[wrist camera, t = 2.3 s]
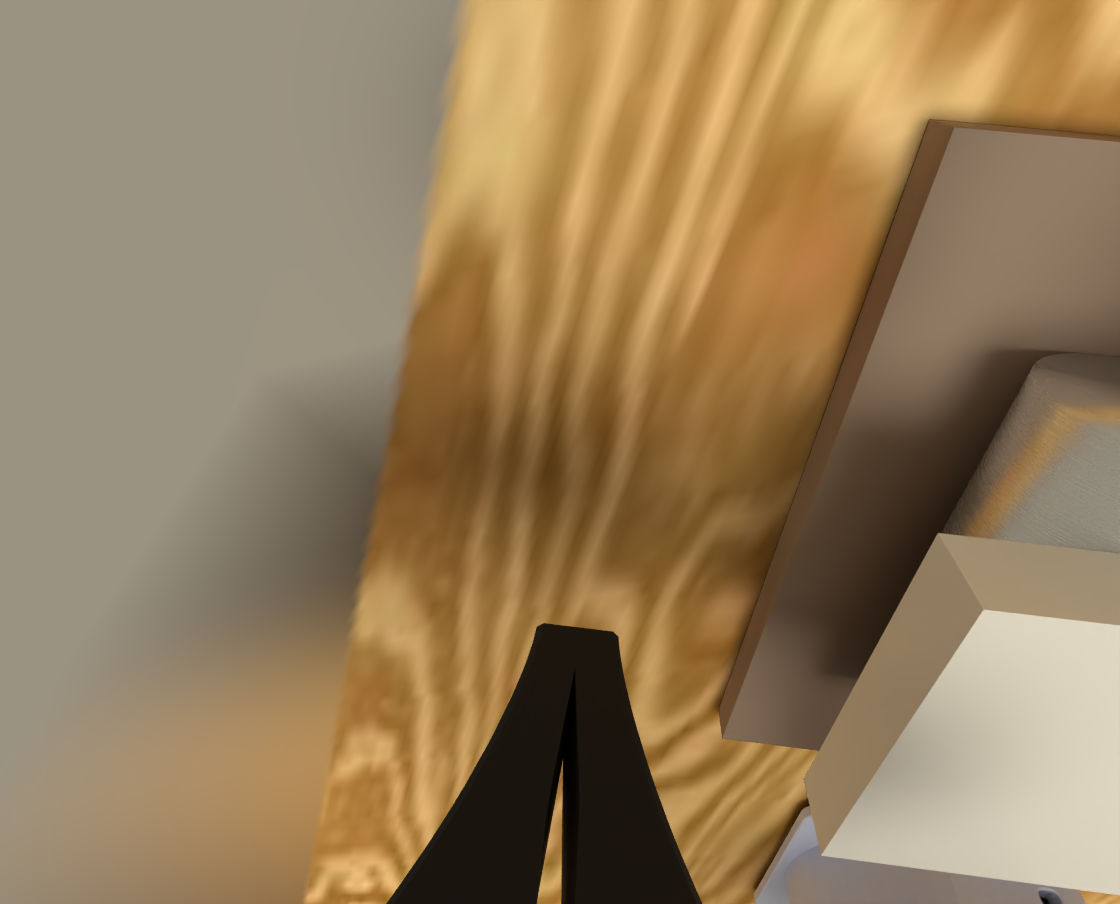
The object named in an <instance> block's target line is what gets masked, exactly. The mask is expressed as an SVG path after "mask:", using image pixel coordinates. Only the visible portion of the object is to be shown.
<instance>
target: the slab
mask: <svg viewBox="0 0 1120 904" xmlns="http://www.w3.org/2000/svg"><path fill="white" fill-rule="evenodd" d="M804 783H805V787H806V792H807V796H808V800H809V805H810V809H811V814H812V818H813V823H814V827H815V831H816V836H817V840H818V845H819V849H820V853H821V856H828V857H835V858H843V859H850V860H858V861H865V862H873V863H880V864H888V865H896V866H903V867H911V868H918V869H926V870H933V871H941V872H948V873H956V874H963V875H971V876H978V877H986V878H993V879H1001V880H1008V881H1016V882H1024V883H1031V884H1039V885H1046V886H1054V887H1061V888H1069V889H1076V890H1084V891H1091V892H1099V893H1106V894H1114V895H1120V554H1119V553H1110V552H1102V551H1093V550H1084V549H1075V548H1066V547H1057V546H1048V545H1040V544H1031V543H1022V542H1013V541H1004V540H995V539H987V538H978V537H969V536H960V535H951V534H942V533H938V534H937V536H936V538H935V539H934V541H933V543H932V545H931V547H930V549H929V550H928V552H927V554H926V556H925V558H924V559H923V561H922V563H921V565H920V567H919V569H918V570H917V572H916V574H915V576H914V578H913V580H912V581H911V583H910V585H909V587H908V589H907V591H906V592H905V594H904V596H903V598H902V600H901V602H900V603H899V605H898V607H897V609H896V611H895V613H894V614H893V616H892V618H891V620H890V622H889V624H888V625H887V627H886V629H885V631H884V633H883V635H882V636H881V638H880V640H879V642H878V644H877V646H876V647H875V649H874V651H873V653H872V655H871V657H870V658H869V660H868V662H867V664H866V666H865V668H864V669H863V671H862V673H861V675H860V677H859V679H858V680H857V682H856V684H855V686H854V688H853V690H852V691H851V693H850V695H849V697H848V699H847V701H846V702H845V704H844V706H843V708H842V710H841V712H840V713H839V715H838V717H837V719H836V721H835V723H834V724H833V726H832V728H831V730H830V732H829V734H828V735H827V737H826V739H825V741H824V743H823V745H822V746H821V748H820V750H819V752H818V754H817V756H816V757H815V759H814V761H813V763H812V765H811V767H810V768H809V770H808V772H807V774H806V776H805V778H804Z"/></svg>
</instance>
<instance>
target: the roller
mask: <svg viewBox="0 0 1120 904" xmlns="http://www.w3.org/2000/svg"><path fill="white" fill-rule="evenodd" d="M941 533H942V534H951V535H960V536H969V537H978V538H987V539H995V540H1004V541H1013V542H1022V543H1031V544H1040V545H1048V546H1057V547H1066V548H1075V549H1084V550H1093V551H1102V552H1110V553H1119V554H1120V357H1116V356H1110V355H1100V354H1089V353H1063V354H1055V355H1050V356H1047V357H1044V358H1041V359H1040V360H1038V361H1036V363H1035V364H1034V365H1033V367H1032V369H1031V370H1030V372H1029V374H1028V376H1027V378H1026V380H1025V381H1024V383H1023V385H1022V387H1021V389H1020V390H1019V392H1018V394H1017V396H1016V398H1015V400H1014V401H1013V403H1012V405H1011V407H1010V409H1009V410H1008V412H1007V414H1006V416H1005V418H1004V420H1003V421H1002V423H1001V425H1000V427H999V429H998V431H997V432H996V434H995V436H994V438H993V440H992V441H991V443H990V445H989V447H988V449H987V451H986V452H985V454H984V456H983V458H982V460H981V461H980V463H979V465H978V467H977V469H976V471H975V472H974V474H973V476H972V478H971V480H970V481H969V483H968V485H967V487H966V489H965V491H964V492H963V494H962V496H961V498H960V500H959V501H958V503H957V505H956V507H955V509H954V511H953V512H952V514H951V516H950V518H949V520H948V522H947V523H946V525H945V527H944V529H943V531H942V532H941Z"/></svg>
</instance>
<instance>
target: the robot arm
mask: <svg viewBox="0 0 1120 904" xmlns="http://www.w3.org/2000/svg"><path fill="white" fill-rule="evenodd" d="M562 761H563V809H562V898H561V904H702V902H701V900H700V898H699V895H698V893H697V891H696V889H695V886H694V884H693V882H692V879H691V877H690V875H689V872H688V870H687V868H686V865H685V863H684V861H683V858H682V856H681V853H680V851H679V848H678V846H677V843H676V841H675V838H674V836H673V833H672V831H671V828H670V826H669V823H668V820H667V818H666V815H665V812H664V809H663V807H662V804H661V801H660V798H659V796H658V793H657V790H656V787H655V785H654V782H653V779H652V776H651V773H650V770H649V767H648V764H647V760H646V757H645V754H644V750H643V747H642V744H641V741H640V737H639V734H638V731H637V727H636V724H635V720H634V717H633V713H632V709H631V705H630V701H629V697H628V692H627V688H626V684H625V679H624V674H623V669H622V663H621V657H620V650H619V639H618V636H617V635H616V634H615V633H614V632H611V631H603V630H595V629H586V628H578V627H570V626H562V625H553V624H545V623H543V624H541V625H540V626H538V627H537V628H536V633H535V637H534V641H533V644H532V647H531V650H530V653H529V656H528V659H527V661H526V664H525V667H524V669H523V672H522V674H521V676H520V679H519V681H518V683H517V686H516V688H515V691H514V693H513V695H512V697H511V699H510V701H509V703H508V705H507V707H506V709H505V712H504V714H503V716H502V718H501V720H500V722H499V724H498V726H497V728H496V730H495V732H494V734H493V736H492V738H491V740H490V742H489V743H488V745H487V747H486V749H485V751H484V752H483V754H482V756H481V758H480V760H479V761H478V763H477V765H476V767H475V768H474V770H473V772H472V774H471V776H470V777H469V779H468V781H467V783H466V784H465V786H464V788H463V790H462V791H461V793H460V794H459V796H458V798H457V799H456V801H455V803H454V804H453V806H452V808H451V809H450V811H449V812H448V814H447V816H446V817H445V819H444V820H443V822H442V823H441V825H440V827H439V828H438V830H437V831H436V833H435V834H434V836H433V837H432V839H431V840H430V842H429V843H428V845H427V846H426V848H425V849H424V851H423V852H422V854H421V855H420V857H419V858H418V860H417V861H416V863H415V864H414V865H413V867H412V868H411V870H410V871H409V873H408V874H407V875H406V877H405V878H404V880H403V881H402V883H401V884H400V885H399V887H398V888H397V890H396V891H395V893H394V894H393V895H392V897H391V898H390V900H389V901H388V902H387V904H537V898H538V892H539V886H540V881H541V876H542V870H543V865H544V859H545V854H546V848H547V843H548V837H549V832H550V826H551V821H552V816H553V810H554V805H555V799H556V794H557V788H558V783H559V777H560V772H561V766H562ZM754 901H755V904H1086V902H1085V900H1084V898H1083V896H1082V894H1081V892H1080V890H1076V889H1069V888H1061V887H1054V886H1046V885H1039V884H1031V883H1024V882H1016V881H1008V880H1001V879H993V878H986V877H978V876H971V875H963V874H956V873H948V872H941V871H933V870H926V869H918V868H911V867H903V866H896V865H888V864H880V863H873V862H865V861H858V860H850V859H843V858H835V857H828V856H821V853H820V849H819V845H818V840H817V836H816V831H815V827H814V823H813V818H812V814H811V809H810V806H807V807H805V808H804V809H803V810H802V811H801V812H800V814H799V816H798V818H797V819H796V821H795V823H794V825H793V826H792V828H791V830H790V832H789V833H788V835H787V837H786V839H785V840H784V842H783V844H782V846H781V847H780V849H779V851H778V853H777V854H776V856H775V858H774V860H773V861H772V863H771V865H770V867H769V868H768V870H767V872H766V874H765V875H764V877H763V879H762V881H761V882H760V884H759V886H758V888H757V889H756V891H755V893H754Z"/></svg>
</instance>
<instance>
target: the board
mask: <svg viewBox="0 0 1120 904" xmlns="http://www.w3.org/2000/svg"><path fill="white" fill-rule="evenodd" d="M1063 353H1089V354H1100V355H1110V356H1116V357H1120V136H1112V135H1100V134H1089V133H1078V132H1067V131H1055V130H1044V129H1033V128H1022V127H1011V126H999V125H988V124H977V123H966V122H955V121H943V120H932V119H930V120H929V123H928V126H927V128H926V131H925V134H924V137H923V140H922V142H921V145H920V148H919V151H918V154H917V156H916V159H915V162H914V165H913V168H912V170H911V173H910V176H909V179H908V182H907V184H906V187H905V190H904V193H903V196H902V198H901V201H900V204H899V207H898V209H897V212H896V215H895V218H894V221H893V223H892V226H891V229H890V232H889V235H888V237H887V240H886V243H885V246H884V249H883V251H882V254H881V257H880V260H879V263H878V265H877V268H876V271H875V274H874V277H873V279H872V282H871V285H870V288H869V291H868V293H867V296H866V299H865V302H864V304H863V307H862V310H861V313H860V316H859V318H858V321H857V324H856V327H855V330H854V332H853V335H852V338H851V341H850V344H849V346H848V349H847V352H846V355H845V358H844V360H843V363H842V366H841V369H840V372H839V374H838V377H837V380H836V383H835V386H834V388H833V391H832V394H831V397H830V399H829V402H828V405H827V408H826V411H825V413H824V416H823V419H822V422H821V425H820V427H819V430H818V433H817V436H816V439H815V441H814V444H813V447H812V450H811V453H810V455H809V458H808V461H807V464H806V467H805V469H804V472H803V475H802V478H801V481H800V483H799V486H798V489H797V492H796V494H795V497H794V500H793V503H792V506H791V508H790V511H789V514H788V517H787V520H786V522H785V525H784V528H783V531H782V534H781V536H780V539H779V542H778V545H777V548H776V550H775V553H774V556H773V559H772V562H771V564H770V567H769V570H768V573H767V576H766V578H765V581H764V584H763V587H762V589H761V592H760V595H759V598H758V601H757V603H756V606H755V609H754V612H753V615H752V617H751V620H750V623H749V626H748V629H747V631H746V634H745V637H744V640H743V643H742V645H741V648H740V651H739V654H738V657H737V659H736V662H735V665H734V668H733V671H732V673H731V676H730V679H729V682H728V684H727V687H726V690H725V693H724V696H723V698H722V701H721V704H720V707H719V717H720V725H721V733H722V738H723V739H731V740H739V741H747V742H755V743H763V744H771V745H779V746H786V747H794V748H802V749H810V750H818V751H819V750H820V748H821V746H822V745H823V743H824V741H825V739H826V737H827V735H828V734H829V732H830V730H831V728H832V726H833V724H834V723H835V721H836V719H837V717H838V715H839V713H840V712H841V710H842V708H843V706H844V704H845V702H846V701H847V699H848V697H849V695H850V693H851V691H852V690H853V688H854V686H855V684H856V682H857V680H858V679H859V677H860V675H861V673H862V671H863V669H864V668H865V666H866V664H867V662H868V660H869V658H870V657H871V655H872V653H873V651H874V649H875V647H876V646H877V644H878V642H879V640H880V638H881V636H882V635H883V633H884V631H885V629H886V627H887V625H888V624H889V622H890V620H891V618H892V616H893V614H894V613H895V611H896V609H897V607H898V605H899V603H900V602H901V600H902V598H903V596H904V594H905V592H906V591H907V589H908V587H909V585H910V583H911V581H912V580H913V578H914V576H915V574H916V572H917V570H918V569H919V567H920V565H921V563H922V561H923V559H924V558H925V556H926V554H927V552H928V550H929V549H930V547H931V545H932V543H933V541H934V539H935V538H936V536H937V534H938V533H941V532H942V531H943V529H944V527H945V525H946V523H947V522H948V520H949V518H950V516H951V514H952V512H953V511H954V509H955V507H956V505H957V503H958V501H959V500H960V498H961V496H962V494H963V492H964V491H965V489H966V487H967V485H968V483H969V481H970V480H971V478H972V476H973V474H974V472H975V471H976V469H977V467H978V465H979V463H980V461H981V460H982V458H983V456H984V454H985V452H986V451H987V449H988V447H989V445H990V443H991V441H992V440H993V438H994V436H995V434H996V432H997V431H998V429H999V427H1000V425H1001V423H1002V421H1003V420H1004V418H1005V416H1006V414H1007V412H1008V410H1009V409H1010V407H1011V405H1012V403H1013V401H1014V400H1015V398H1016V396H1017V394H1018V392H1019V390H1020V389H1021V387H1022V385H1023V383H1024V381H1025V380H1026V378H1027V376H1028V374H1029V372H1030V370H1031V369H1032V367H1033V365H1034V364H1035V363H1036V361H1038V360H1040V359H1041V358H1044V357H1047V356H1050V355H1055V354H1063Z"/></svg>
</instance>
